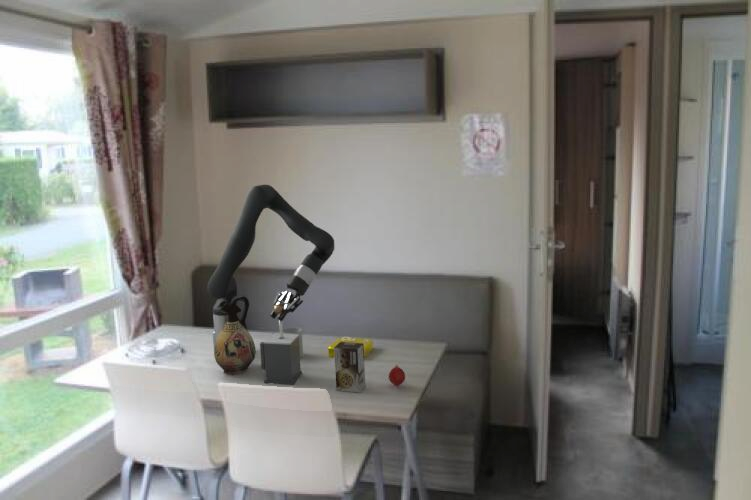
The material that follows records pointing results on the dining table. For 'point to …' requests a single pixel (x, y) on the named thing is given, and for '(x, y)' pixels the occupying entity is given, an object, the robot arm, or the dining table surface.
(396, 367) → the onion
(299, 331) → the mug
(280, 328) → the plunger
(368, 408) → the dining table surface
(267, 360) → the gray rectangular box
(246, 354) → the ceramic jug
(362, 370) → the coffee box
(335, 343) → the element tile
